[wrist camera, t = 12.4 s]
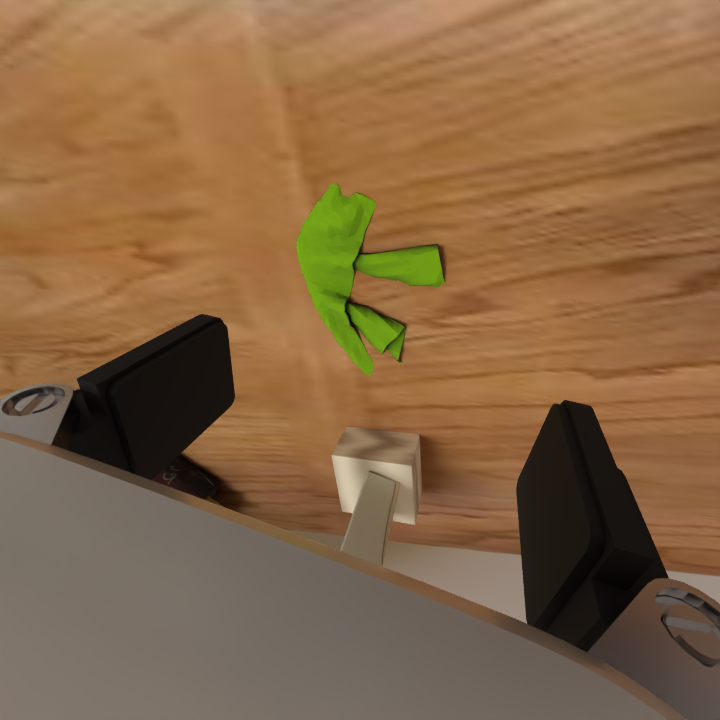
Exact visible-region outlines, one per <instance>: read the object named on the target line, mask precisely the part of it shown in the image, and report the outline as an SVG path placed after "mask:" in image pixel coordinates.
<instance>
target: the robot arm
mask: <svg viewBox="0 0 720 720" xmlns="http://www.w3.org/2000/svg"><path fill="white" fill-rule="evenodd" d="M77 381H78V384H79V386H80V389H81V392H80V393H78V394H76V395H75V394H74V391H73V390H72V388H71V387H70V386H68V385H66V384H62V383H43V384H37V385H32V386H29V387H25V388H22V389H19V390H17V391H15V392H12V393H10V394H8V395H7V396H5V397H4V398H2V399H0V720H720V604H719V603H718V602H716V601H715V600H714V599H712V598H710V597H709V596H708V595H706V594H705V593H703V592H702V591H700V590H698V589H696V588H694V587H692V586H690V585H688V584H686V583H684V582H681V581H677V580H673V579H669V578H668V575H667V573H666V570H665V568H664V566H663V563H662V561H661V559H660V556H659V554H658V552H657V549H656V547H655V545H654V542H653V540H652V538H651V535H650V533H649V531H648V528H647V526H646V524H645V521H644V519H643V517H642V514H641V512H640V510H639V507H638V505H637V503H636V500H635V498H634V496H633V493H632V491H631V489H630V486H629V484H628V482H627V479H626V477H625V475H624V474H623V472H622V471H621V470H620V469H618V468H617V466H616V463H615V461H614V459H613V456H612V454H611V451H610V449H609V447H608V444H607V442H606V439H605V437H604V434H603V432H602V430H601V427H600V425H599V422H598V420H597V418H596V415H595V413H594V410H593V408H592V407H591V406H589V405H584V404H580V403H576V402H572V401H568V400H564V401H563V402H562V403H561V404H560V405H559V404H553V405H552V407H551V409H550V411H549V413H548V415H547V417H546V420H545V422H544V424H543V426H542V428H541V430H540V433H539V435H538V437H537V439H536V441H535V444H534V446H533V448H532V450H531V452H530V454H529V457H528V459H527V461H526V463H525V465H524V467H523V470H522V472H521V474H520V476H519V479H518V482H517V489H516V493H517V506H518V519H519V531H520V544H521V557H522V570H523V583H524V596H525V608H526V619H527V624H526V623H524V622H521V621H519V620H517V619H514V618H512V617H510V616H507V615H505V614H502V613H500V612H497V611H494V610H492V609H489V608H487V607H485V606H482V605H480V604H477V603H474V602H472V601H469V600H467V599H464V598H462V597H459V596H457V595H454V594H452V593H449V592H447V591H444V590H442V589H439V588H436V587H434V586H432V585H429V584H427V583H424V582H421V581H419V580H416V579H413V578H411V577H408V576H405V575H403V574H400V573H398V572H395V571H392V570H389V569H387V568H384V567H382V566H379V565H377V564H374V563H371V562H369V561H366V560H363V559H361V558H358V557H355V556H353V555H350V554H347V553H345V552H342V551H339V550H337V549H334V548H331V547H329V546H326V545H324V544H321V543H318V542H316V541H313V540H311V539H308V538H305V537H302V536H300V535H297V534H294V533H292V532H289V531H286V530H284V529H281V528H278V527H276V526H273V525H270V524H268V523H265V522H262V521H260V520H257V519H254V518H252V517H249V516H246V515H244V514H241V513H238V512H236V511H233V510H230V509H227V508H225V507H222V506H219V505H217V504H214V503H211V502H209V501H206V500H203V499H201V498H198V497H195V496H192V495H190V494H187V493H184V492H182V491H179V490H176V489H173V488H171V487H168V486H165V485H163V484H160V483H157V482H154V481H152V479H154V478H155V477H156V476H157V475H158V474H159V473H160V472H161V471H162V470H163V469H164V468H165V467H166V466H168V465H169V464H170V463H171V462H172V461H173V460H174V459H175V458H176V457H177V456H178V455H179V454H180V453H181V452H182V451H184V450H185V449H186V448H187V447H188V446H189V445H190V444H191V443H192V442H193V441H194V440H195V439H196V438H197V437H198V436H200V435H201V434H202V433H203V432H204V431H205V430H206V429H207V428H208V427H209V426H210V425H211V424H212V423H213V422H215V421H216V420H217V419H218V418H219V417H220V416H221V415H222V414H223V413H224V412H225V411H226V410H227V409H228V408H229V407H230V406H231V405H232V404H233V402H234V398H235V392H234V383H233V374H232V365H231V356H230V347H229V338H228V329H227V326H226V325H225V324H224V323H223V321H222V320H221V319H220V318H217V317H213V316H209V315H204V314H201V315H198V316H196V317H194V318H192V319H190V320H188V321H187V322H185V323H183V324H181V325H179V326H177V327H175V328H173V329H171V330H169V331H167V332H165V333H164V334H162V335H160V336H158V337H156V338H154V339H152V340H150V341H148V342H146V343H144V344H142V345H141V346H139V347H137V348H135V349H133V350H131V351H129V352H127V353H125V354H123V355H121V356H119V357H118V358H116V359H114V360H112V361H110V362H108V363H106V364H104V365H102V366H100V367H98V368H97V369H95V370H93V371H91V372H89V373H87V374H85V375H83V376H81V377H79V378H77Z"/></svg>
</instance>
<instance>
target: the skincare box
mask: <svg viewBox="0 0 720 720" xmlns="http://www.w3.org/2000/svg"><path fill="white" fill-rule="evenodd" d="M399 488H400V483H397V482H395V481H392V480H389V479H387V478H384V477H382V476H379V475H376V474H374V473H371V472H367V475H366V477H365V480H364V482H363V485H362V488H361V491H360V494H359V497H358V500H357V503H356V505H355V508H354V511H353V514H352V517H351V520H350V523H349V526H348V529H347V532H346V535H345V538H344V541H343V544H342V547H341V550H340V551H342V552H345V553H347V554H350V555H353V556H355V557H358V558H361V559H363V560H366V561H369V562H371V563H374V564H377V565H379V566H382V564H383V560H384V556H385V551H386V547H387V542H388V538H389V533H390V529H391V524H392V520H393V515H394V511H395V506H396V502H397V497H398V492H399Z"/></svg>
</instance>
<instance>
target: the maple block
mask: <svg viewBox="0 0 720 720" xmlns="http://www.w3.org/2000/svg"><path fill="white" fill-rule="evenodd" d="M332 460H333V465H334V471H335V476H336V481H337V486H338V492H339V497H340V502H341V507H342V511H344V512H349V513H353V511H354V508H355V505H356V503H357V500H358V497H359V494H360V491H361V488H362V485H363V482H364V480H365V477H366V475H367V472H371V473H374V474H376V475H379V476H382V477H384V478H387V479H389V480H392V481H395V482H397V483H400V488H399V492H398V497H397V502H396V506H395V511H394V515H393V520H392V521H397V522H402V523H408V524H413V525H415V523H416V518H417V513H418V508H419V503H420V498H421V493H422V479H421V457H420V435H419V434H412V433H402V432H393V431H383V430H374V429H365V428H355V427H346V429H345V431H344V433H343V435H342V436H341V438H340V440H339V442H338V444H337V446H336V448H335V450H334V451H333V453H332Z"/></svg>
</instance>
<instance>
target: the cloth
mask: <svg viewBox="0 0 720 720" xmlns="http://www.w3.org/2000/svg"><path fill="white" fill-rule="evenodd" d="M374 210H375V201H373V200H371V199H369V198H367V197H366V196H364V195H361V194H358V193H354V194H353V195H352V196H351V197H350V198H348V197H346V196H344V195H342V193H341V189H340V186H339V185H337V184H331V185H330V187H329V188H328V190H327V191H326V192H325V194H324V195H323V197H322V198H321V199H320V200H319V201H318V202H317V204H316V205H315V207H314V209H313V210H312V211H311V213H310V215H309V217H308V218H307V219H306V220H305V222H304V224H303V226H302V229H301V233H300V235H299V237H298V240H297V244H296V248H297V255H298V260H299V262H300V263H301V265H300V268H301V273H305V274H304V278H305V279H306V284H307V287H308V289H309V292H310V294H311V298H312V300H313V304H314V306H315V308H316V310H317V311H318V312H319V313H320V316H321V318H322V320H323V321H324V323H325V325H326V326H327V327H328V328H329V329H330V330H331V331H332V333H333V336H334V337H335V339H336V341H337V342H338V343H339V345H340V346H341V347H342V348H344V350H345V351H346V352H347V353H348V355H349V357H350V358H351V359H352V360H353V362H354V363H355V364H356V365H358V366H359V368H360V369H361V370H362V371H363V372H364V373H365V374H366V375H367V376H368V375H370V374H371V372H372V370H373V368H374V363H373V362H372V360H371V358H370V357H369V355H368V353H367V351H366V349H365V347H364V345H363V343H362V340H361V339H360V337H359V336H358V334H357V332H356V331H355V329H354V328H353V327H351V326H350V322H352V323H353V324H354V325H355V326H356V327H357V328H358V329H359V330H360V331H361V332H362V334H363V335H364V337H365V338H366V339H367V340H368V342H369V343H370V344H371V345H372V346H373V347H375V348H376V349H377V350H378V351H379V352H380V353H383V351H384V350H385V348H386V349H388V350H389V352H390V353H391V354H392V356H393V357H394V358H395V359H396V360H397V361H398V362H399V363H402V361H401V360H399V356H400V352H401V348H402V344H403V340H404V336H405V329H406V327H404V326H402V325H401V324H399V323H398V322H396V321H394V320H393V319H391V318H389V317H387V316H383V315H379V314H376V313H374V312H373V311H372V310H371V309H369V308H368V307H366V306H363V305H360V304H357V303H347V302H346V301H347V300H348V299H349V297H350V294H351V290H352V286H353V278H354V270H358V271H360V272H362V273H365V274H367V275H370V276H373V277H378V278H386V279H389V280H399V281H401V282H403V283H406V284H408V285H410V286H433V287H439V286H440V284H444V283H445V281H444V279H443V274H442V268H441V263H440V258H439V252H438V246H437V244H435V245H426V246H419V247H414V248H409V249H403V250H397V251H392V252H385V253H358V252H359V250H360V248H361V245H362V243H363V238H364V234H365V230H366V228H367V226H368V224H369V221H370V218H371V216H372V214H373V212H374ZM349 321H350V322H349Z"/></svg>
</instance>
